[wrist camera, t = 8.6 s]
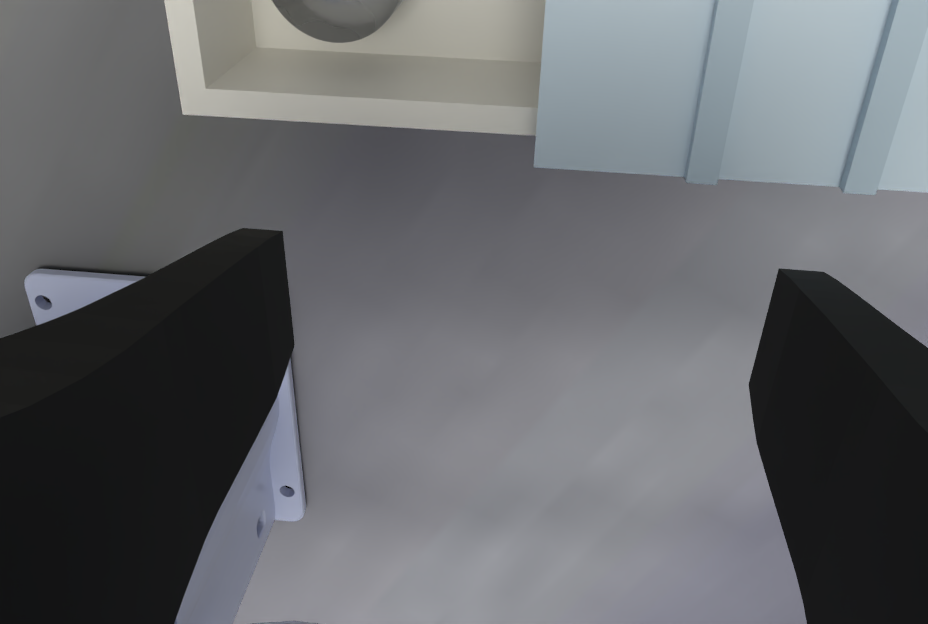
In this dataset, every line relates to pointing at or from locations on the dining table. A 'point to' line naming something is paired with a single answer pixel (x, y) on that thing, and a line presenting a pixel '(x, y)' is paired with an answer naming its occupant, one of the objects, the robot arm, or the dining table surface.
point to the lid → (738, 91)
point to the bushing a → (337, 17)
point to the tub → (364, 66)
